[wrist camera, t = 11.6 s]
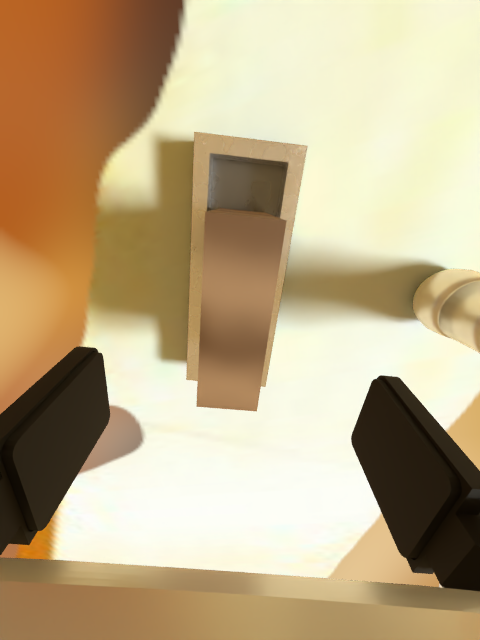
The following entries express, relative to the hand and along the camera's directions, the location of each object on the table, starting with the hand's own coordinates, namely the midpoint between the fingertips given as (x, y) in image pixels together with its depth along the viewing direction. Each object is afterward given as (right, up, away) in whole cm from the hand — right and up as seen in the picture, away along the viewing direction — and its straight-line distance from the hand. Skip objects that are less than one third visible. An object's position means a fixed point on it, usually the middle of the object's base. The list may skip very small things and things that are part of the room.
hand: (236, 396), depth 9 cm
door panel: (0, +7, +17) cm, 18 cm away
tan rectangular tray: (0, +7, +18) cm, 19 cm away
